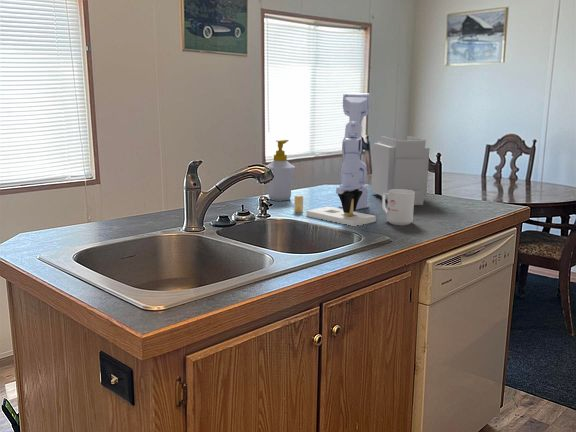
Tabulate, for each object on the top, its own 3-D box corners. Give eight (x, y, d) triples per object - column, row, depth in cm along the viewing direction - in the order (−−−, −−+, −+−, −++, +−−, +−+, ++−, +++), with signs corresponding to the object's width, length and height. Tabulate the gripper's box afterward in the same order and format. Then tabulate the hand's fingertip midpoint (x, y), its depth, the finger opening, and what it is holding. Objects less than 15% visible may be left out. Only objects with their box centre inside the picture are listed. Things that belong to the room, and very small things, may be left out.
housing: (328, 211, 208) (328, 206, 208) (375, 221, 193) (375, 216, 192) (306, 216, 200) (306, 210, 200) (353, 226, 185) (354, 221, 184)
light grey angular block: (390, 205, 222) (393, 140, 217) (370, 193, 248) (373, 135, 242) (430, 204, 225) (435, 140, 220) (406, 193, 251) (410, 135, 245)
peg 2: (354, 215, 194) (355, 199, 192) (349, 217, 191) (350, 200, 190) (347, 214, 196) (348, 197, 194) (342, 215, 193) (342, 199, 192)
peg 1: (298, 210, 209) (298, 195, 208) (304, 212, 207) (304, 196, 206) (292, 211, 207) (292, 196, 206) (298, 213, 205) (298, 197, 203)
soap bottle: (300, 198, 233) (301, 140, 228) (284, 203, 223) (285, 142, 217) (275, 195, 240) (276, 138, 234) (258, 200, 229) (258, 140, 224)
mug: (417, 223, 192) (419, 191, 189) (403, 227, 186) (405, 194, 183) (389, 217, 200) (390, 187, 198) (374, 221, 194) (375, 189, 192)
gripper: (352, 170, 198) (351, 207, 201) (329, 173, 187) (328, 213, 190) (369, 171, 194) (367, 209, 197) (346, 176, 183) (345, 216, 186)
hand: (349, 211), depth 193 cm, fingers closed on peg 2, 3 cm apart
